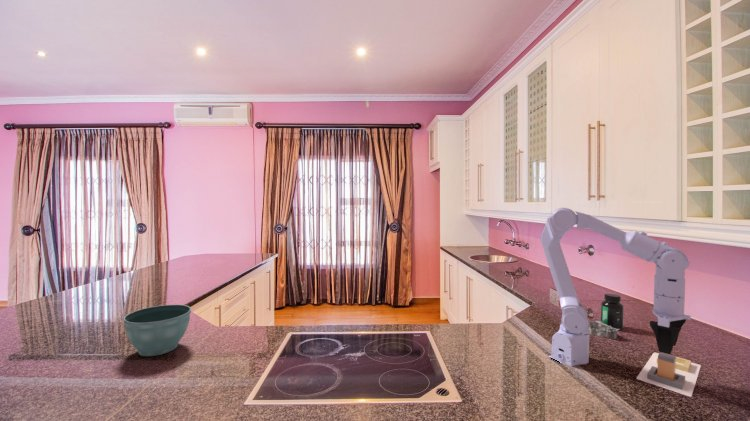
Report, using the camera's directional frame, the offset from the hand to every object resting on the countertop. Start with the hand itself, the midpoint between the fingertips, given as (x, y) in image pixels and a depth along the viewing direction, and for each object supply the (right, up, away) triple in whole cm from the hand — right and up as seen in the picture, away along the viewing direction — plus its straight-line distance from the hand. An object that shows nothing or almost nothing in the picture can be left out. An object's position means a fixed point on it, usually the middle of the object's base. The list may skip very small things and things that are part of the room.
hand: (667, 348), depth 81 cm
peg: (0, -8, 0) cm, 8 cm away
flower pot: (-137, -6, +12) cm, 138 cm away
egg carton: (+5, -9, +32) cm, 34 cm away
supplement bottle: (+14, -9, +38) cm, 42 cm away
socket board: (+5, -9, +4) cm, 11 cm away
